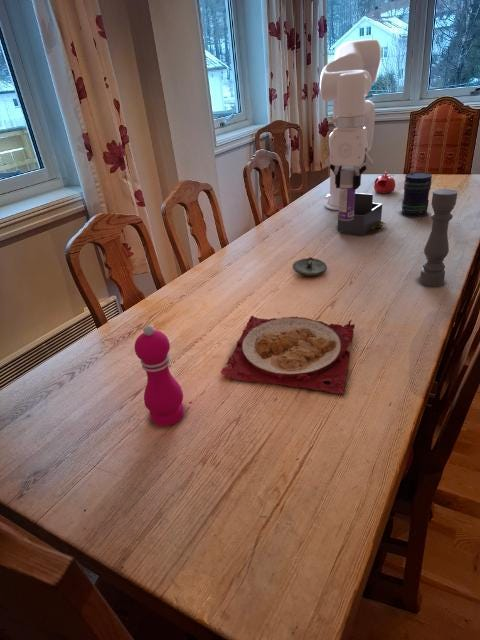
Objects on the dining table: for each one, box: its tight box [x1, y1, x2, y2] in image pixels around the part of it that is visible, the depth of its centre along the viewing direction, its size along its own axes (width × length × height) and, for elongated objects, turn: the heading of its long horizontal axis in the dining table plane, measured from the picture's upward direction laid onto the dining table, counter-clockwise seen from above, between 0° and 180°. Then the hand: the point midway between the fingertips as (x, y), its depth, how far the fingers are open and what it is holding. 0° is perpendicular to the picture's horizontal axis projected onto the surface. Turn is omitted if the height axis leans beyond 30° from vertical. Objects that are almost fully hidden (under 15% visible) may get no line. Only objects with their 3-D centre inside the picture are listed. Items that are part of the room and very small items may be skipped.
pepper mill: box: [134, 324, 185, 427], centre depth 77 cm, size 7×7×20 cm
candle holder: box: [419, 188, 458, 288], centre depth 114 cm, size 6×6×25 cm
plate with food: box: [220, 315, 356, 395], centre depth 96 cm, size 24×26×3 cm
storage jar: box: [400, 171, 433, 218], centre depth 169 cm, size 10×10×15 cm
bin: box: [337, 192, 383, 236], centre depth 160 cm, size 17×10×12 cm, turn 142°
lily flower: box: [372, 220, 386, 229], centre depth 163 cm, size 12×12×5 cm
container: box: [338, 167, 356, 221], centre depth 131 cm, size 5×5×15 cm
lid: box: [292, 257, 328, 277], centre depth 133 cm, size 11×10×5 cm
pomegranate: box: [373, 171, 396, 194], centre depth 202 cm, size 10×10×9 cm
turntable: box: [342, 224, 382, 236], centre depth 164 cm, size 16×16×1 cm
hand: (347, 187), depth 130 cm, fingers closed on container, 4 cm apart
